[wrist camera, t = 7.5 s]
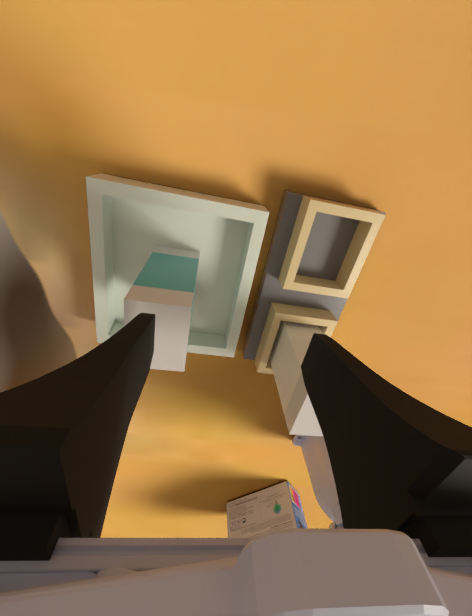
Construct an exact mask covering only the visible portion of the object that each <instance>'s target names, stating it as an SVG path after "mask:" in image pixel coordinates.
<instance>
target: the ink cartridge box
mask: <svg viewBox="0 0 472 616" xmlns="http://www.w3.org/2000/svg"><path fill="white" fill-rule="evenodd" d="M227 527H228V538H255V537H258V536H260V535H263V534H266V533H268V532H271V531H276V530H285V529H294V528H302V529H307V525H306V521H305V517H304V513H303V509H302V505H301V501H300V496H299V494H298V492H297V491H296V490H295V489H294V488H293V487H292V486H291V484H290V483H289V482H288V481H285V482H282V483H279V484H277V485H274V486H271V487H269V488H266V489H263V490H261V491H258V492H255V493H252V494H250V495H247V496H244V497H241V498H239V499H236V500H233V501H231V502H228V503H227Z"/></svg>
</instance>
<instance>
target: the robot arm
mask: <svg viewBox="0 0 472 616" xmlns="http://www.w3.org/2000/svg"><path fill="white" fill-rule="evenodd" d="M154 337H155V314H149V313H139V314H138V315H137V316H136V317H135V318H133V319H132V320H131V321H130V322H129V323H128V324H126V325H125V326H124V327H123V328H121V329H120V330H119V331H118V332H116V333H115V334H114V335H113V336H111V337H110V338H109V339H107V340H106V341H104V342H103V343H102V344H100V345H99V346H97V347H96V348H94V349H93V350H91V351H90V352H88V353H87V354H85V355H83V356H82V357H80V358H78V359H76V360H74V361H73V362H71V363H69V364H67V365H65V366H63V367H61V368H59V369H57V370H55V371H52V372H50V373H48V374H46V375H44V376H42V377H40V378H37V379H35V380H33V381H30V382H28V383H25V384H23V385H20V386H17V387H15V388H12V389H10V390H7V391H4V392H1V393H0V616H472V427H470V426H467V425H465V424H463V423H461V422H459V421H457V420H455V419H453V418H450V417H448V416H446V415H444V414H442V413H440V412H438V411H436V410H435V409H433V408H431V407H429V406H427V405H425V404H424V403H422V402H420V401H418V400H416V399H415V398H413V397H411V396H410V395H408V394H406V393H405V392H403V391H402V390H400V389H398V388H397V387H395V386H394V385H392V384H391V383H389V382H388V381H386V380H385V379H383V378H382V377H381V376H379V375H378V374H376V373H375V372H374V371H372V370H371V369H370V368H368V367H367V366H366V365H364V364H363V363H362V362H361V361H359V360H358V359H357V358H356V357H354V356H353V355H352V354H351V353H349V352H348V351H347V350H346V349H345V348H343V347H342V346H341V345H340V344H338V343H337V342H336V341H335V340H333V339H332V338H330V337H329V336H328V335H326V334H317V333H314V334H313V336H312V339H311V341H310V344H309V347H308V349H307V352H306V354H305V357H304V359H303V362H302V364H301V370H302V375H303V380H304V384H305V387H306V390H307V393H308V396H309V399H310V401H311V404H312V407H313V409H314V412H315V415H316V417H317V420H318V423H319V425H320V428H321V431H322V434H323V437H322V436H307V435H295V436H294V438H293V440H292V442H293V445H296V446H301V448H302V452H303V455H304V459H305V462H306V466H307V469H308V473H309V476H310V479H311V483H312V486H313V490H314V493H315V496H316V499H317V501H318V503H319V505H320V507H321V508H322V510H323V511H324V512H325V513H326V515H327V516H328V517H329V518H330V519H331V520H332V521H334V522H333V523H331V524H330V526H329V529H302V528H294V529H285V530H276V531H271V532H268V533H266V534H263V535H260V536H258V537H255V538H100V536H101V532H102V528H103V523H104V519H105V515H106V511H107V507H108V503H109V499H110V495H111V491H112V487H113V483H114V479H115V475H116V471H117V467H118V463H119V459H120V456H121V452H122V448H123V444H124V441H125V437H126V433H127V430H128V426H129V423H130V420H131V418H132V415H133V412H134V410H135V407H136V404H137V402H138V399H139V397H140V394H141V392H142V389H143V386H144V384H145V381H146V378H147V376H148V373H149V370H150V366H151V362H152V357H153V353H154Z"/></svg>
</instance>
